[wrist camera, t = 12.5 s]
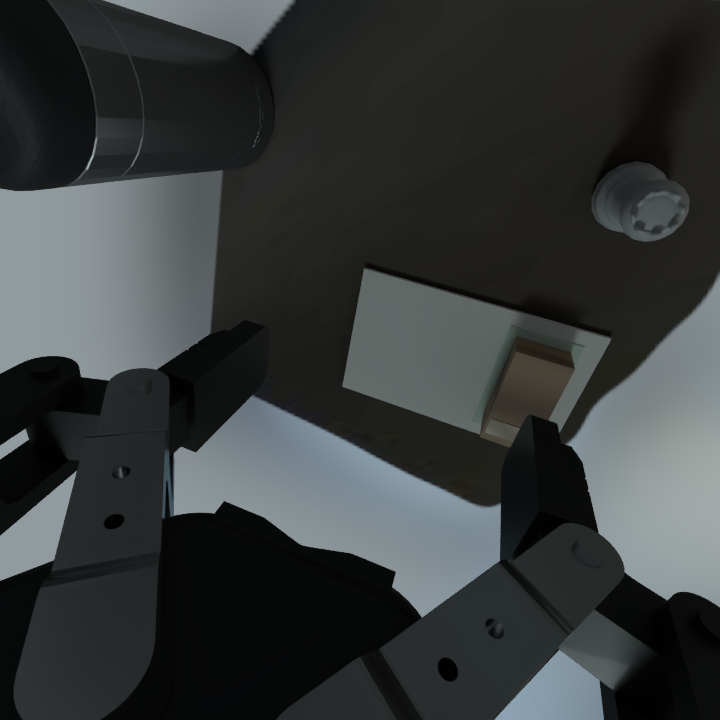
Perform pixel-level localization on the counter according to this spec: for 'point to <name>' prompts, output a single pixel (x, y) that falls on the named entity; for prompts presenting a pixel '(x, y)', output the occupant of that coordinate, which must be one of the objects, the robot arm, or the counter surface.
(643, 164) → the rook chess piece
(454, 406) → the grey mat
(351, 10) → the counter surface
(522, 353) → the brown rectangular block
